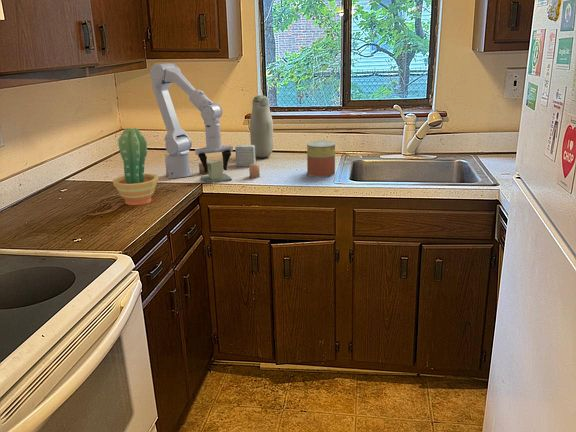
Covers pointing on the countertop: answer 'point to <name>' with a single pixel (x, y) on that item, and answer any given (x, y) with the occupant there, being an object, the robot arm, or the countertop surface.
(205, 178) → the slate mat
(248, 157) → the medicine box
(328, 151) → the canned food
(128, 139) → the potted cactus
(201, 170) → the walnut cube
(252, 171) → the terracotta capsule
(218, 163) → the sage green block
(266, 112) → the grey-green bottle
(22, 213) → the countertop surface
